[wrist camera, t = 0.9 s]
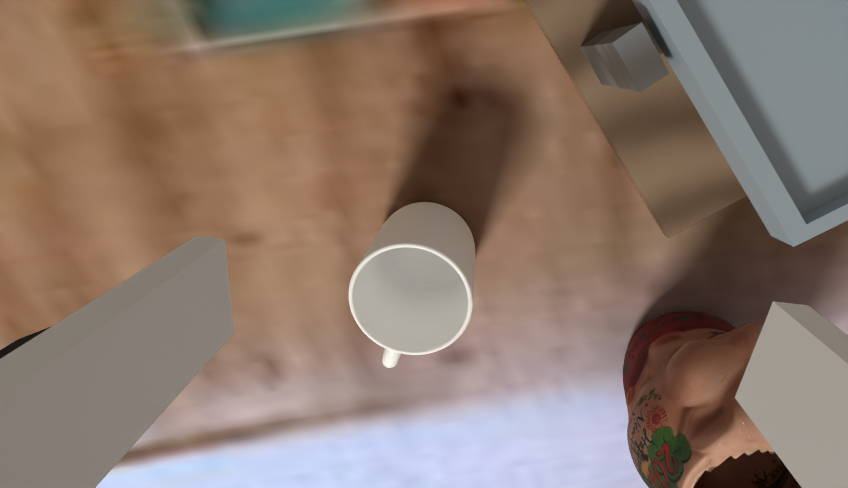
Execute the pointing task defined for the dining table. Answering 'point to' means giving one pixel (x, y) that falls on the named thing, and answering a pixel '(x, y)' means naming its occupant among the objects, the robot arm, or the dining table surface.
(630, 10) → the low stand
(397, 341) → the cup
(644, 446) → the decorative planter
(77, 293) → the dining table surface
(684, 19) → the grey long tray
